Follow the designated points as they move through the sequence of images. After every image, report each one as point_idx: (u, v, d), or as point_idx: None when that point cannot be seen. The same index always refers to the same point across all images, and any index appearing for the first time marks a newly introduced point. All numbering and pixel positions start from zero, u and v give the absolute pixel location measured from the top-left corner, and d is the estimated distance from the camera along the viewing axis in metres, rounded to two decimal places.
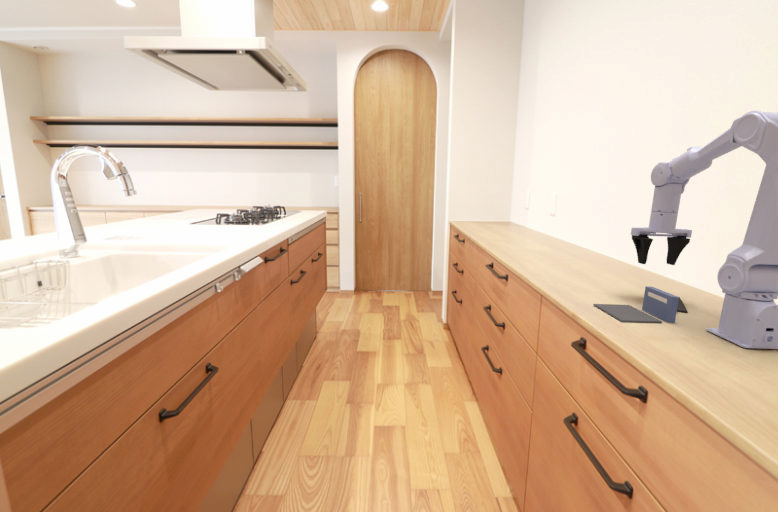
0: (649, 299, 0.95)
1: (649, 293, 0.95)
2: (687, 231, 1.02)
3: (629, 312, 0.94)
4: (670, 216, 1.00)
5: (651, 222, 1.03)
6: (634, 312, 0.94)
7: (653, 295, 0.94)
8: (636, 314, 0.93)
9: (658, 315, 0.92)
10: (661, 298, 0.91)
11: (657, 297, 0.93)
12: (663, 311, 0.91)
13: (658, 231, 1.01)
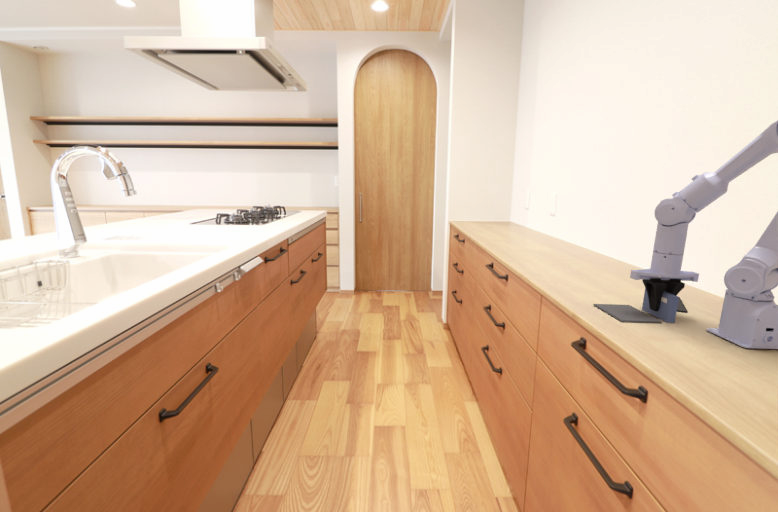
0: None
1: None
2: (693, 275, 0.91)
3: (629, 312, 0.94)
4: (675, 259, 0.88)
5: (653, 264, 0.91)
6: (634, 312, 0.94)
7: None
8: (636, 314, 0.93)
9: (658, 315, 0.92)
10: (661, 298, 0.91)
11: None
12: (663, 311, 0.91)
13: (661, 275, 0.89)
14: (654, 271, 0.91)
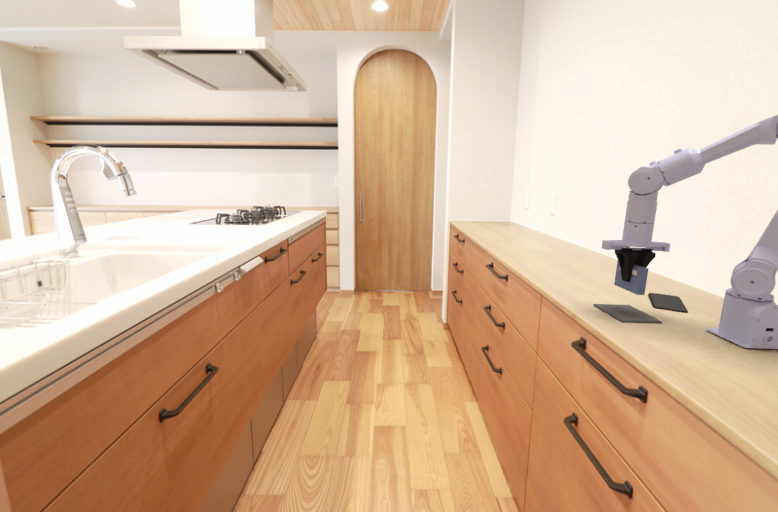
0: None
1: None
2: (665, 244, 0.90)
3: (629, 312, 0.94)
4: (645, 228, 0.88)
5: (624, 234, 0.91)
6: (634, 312, 0.94)
7: None
8: (636, 314, 0.93)
9: (629, 288, 0.92)
10: None
11: None
12: (633, 283, 0.91)
13: (632, 245, 0.89)
14: (625, 241, 0.91)
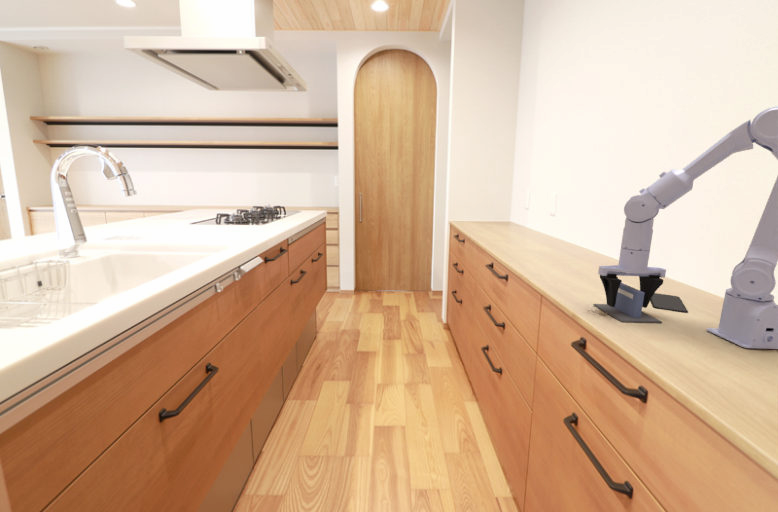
0: (618, 295, 0.96)
1: None
2: (660, 271, 0.91)
3: None
4: (641, 255, 0.89)
5: (620, 260, 0.92)
6: None
7: (621, 291, 0.95)
8: None
9: (625, 311, 0.93)
10: (628, 293, 0.92)
11: (624, 293, 0.94)
12: (629, 306, 0.92)
13: (628, 271, 0.90)
14: (621, 267, 0.92)
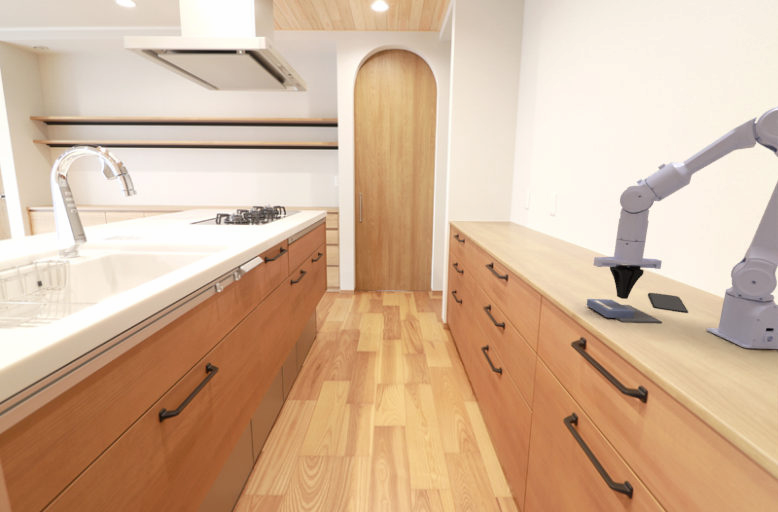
0: None
1: None
2: (656, 262, 0.91)
3: None
4: (636, 246, 0.89)
5: (616, 251, 0.92)
6: (634, 312, 0.94)
7: None
8: (636, 314, 0.93)
9: None
10: None
11: None
12: None
13: (623, 262, 0.90)
14: (617, 258, 0.91)
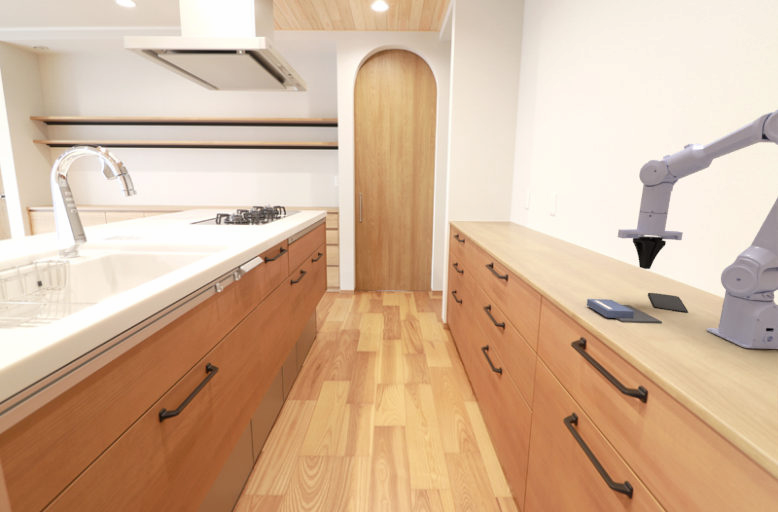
0: None
1: None
2: (677, 233, 0.96)
3: None
4: (659, 217, 0.94)
5: (639, 224, 0.97)
6: (634, 312, 0.94)
7: None
8: (636, 314, 0.93)
9: None
10: None
11: None
12: None
13: (646, 233, 0.95)
14: (640, 230, 0.96)
